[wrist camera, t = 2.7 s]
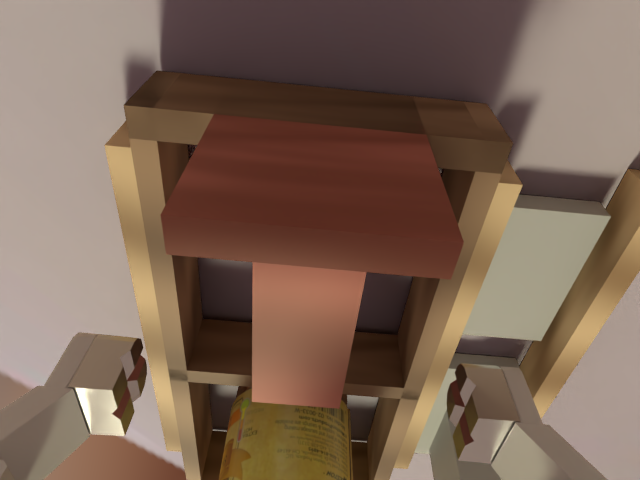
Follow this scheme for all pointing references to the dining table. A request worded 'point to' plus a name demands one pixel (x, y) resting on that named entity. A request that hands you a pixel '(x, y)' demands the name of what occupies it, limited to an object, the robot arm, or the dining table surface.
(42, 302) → the dining table surface
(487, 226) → the oak lane rails
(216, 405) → the dining table surface
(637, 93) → the dining table surface
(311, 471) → the sauce bottle
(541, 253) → the broken grey strip
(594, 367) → the dining table surface
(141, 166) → the wooden condiment caddy
